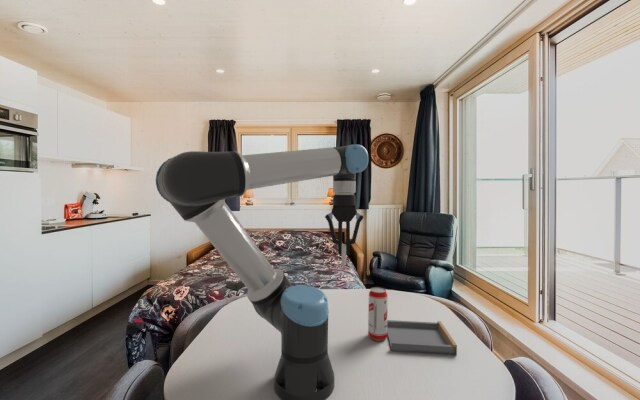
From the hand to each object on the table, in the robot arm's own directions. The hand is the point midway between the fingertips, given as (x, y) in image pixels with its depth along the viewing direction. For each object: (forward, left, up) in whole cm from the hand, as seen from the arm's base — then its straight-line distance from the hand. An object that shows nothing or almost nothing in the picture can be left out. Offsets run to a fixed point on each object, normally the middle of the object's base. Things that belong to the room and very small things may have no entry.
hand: (343, 264), depth 97 cm
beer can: (0, -11, -24) cm, 27 cm away
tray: (0, -24, -24) cm, 34 cm away
